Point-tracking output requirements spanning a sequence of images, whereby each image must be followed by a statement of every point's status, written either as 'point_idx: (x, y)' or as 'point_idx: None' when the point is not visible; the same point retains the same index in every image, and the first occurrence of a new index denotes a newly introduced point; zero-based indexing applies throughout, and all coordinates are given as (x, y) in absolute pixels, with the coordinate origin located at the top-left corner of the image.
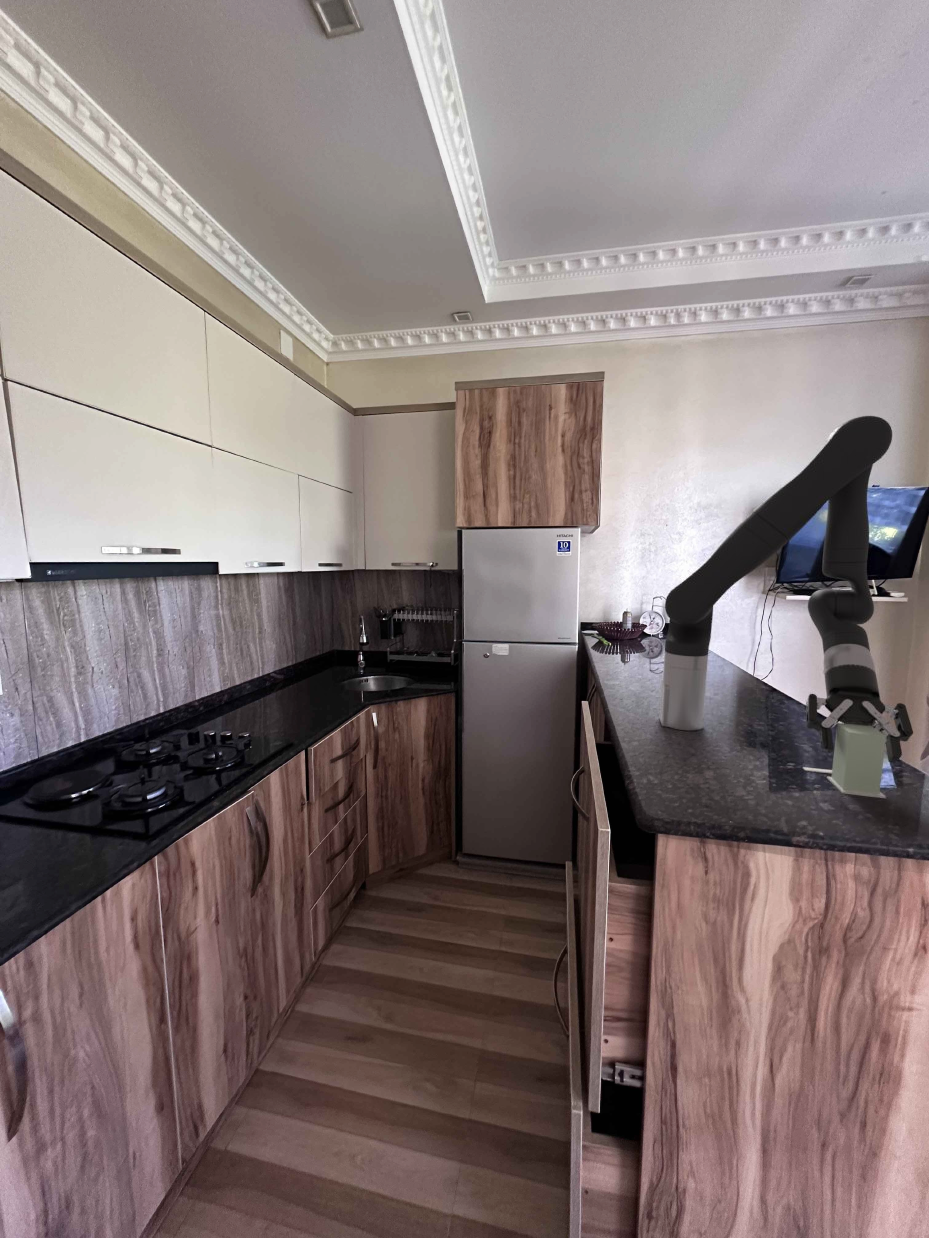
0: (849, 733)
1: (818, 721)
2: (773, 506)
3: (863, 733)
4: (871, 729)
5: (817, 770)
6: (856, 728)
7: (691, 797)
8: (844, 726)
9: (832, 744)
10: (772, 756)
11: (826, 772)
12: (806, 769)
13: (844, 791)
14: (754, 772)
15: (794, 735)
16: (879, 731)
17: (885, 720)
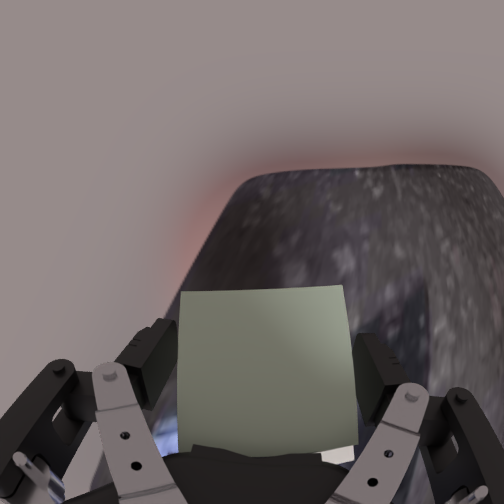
0: (338, 287)
1: (436, 413)
2: None
3: (279, 293)
4: (205, 390)
5: (323, 455)
6: (286, 377)
7: (484, 219)
8: (340, 390)
9: (365, 338)
10: (397, 500)
11: None
12: (349, 447)
13: None
14: (449, 370)
15: None
16: (178, 362)
17: (109, 415)
